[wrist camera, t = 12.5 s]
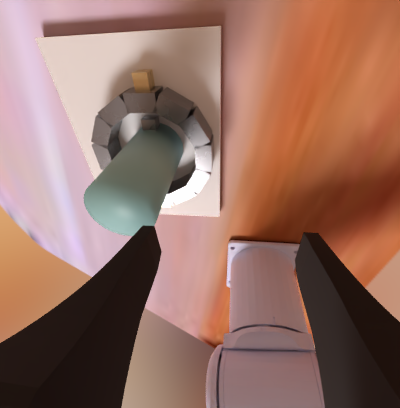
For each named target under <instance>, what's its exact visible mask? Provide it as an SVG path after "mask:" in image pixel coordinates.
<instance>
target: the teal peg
mask: <svg viewBox="0 0 400 408" xmlns="http://www.w3.org/2000/svg"><path fill="white" fill-rule="evenodd" d="M141 124H142V127H141V128H140V129H139V130H138V132H137V133H136V134H135V135H134V136H133V137H132V138H131V140H130V141H129V142H128V143H127V144H126V145H125V146H124V147H123V149H122V150H121V151H120V152H119V153H118V154H117V155H116V156H115V158H114V159H113V160H112V161H111V162H110V163H109V164H108V165H107V167H106V168H105V169H104V170H103V171H102V172H101V173H100V174H99V176H98V177H97V178H96V179H95V180H94V181H93V182H92V183H91V185H90V186H89V187H88V188H87V189H86V191H85V194H84V204H85V207H86V209H87V211H88V213H89V214H90V215H91V217H92V218H93V219H94V220H95V221H96V222H97V223H99V224H100V225H101V226H103V227H104V228H106V229H108V230H110V231H112V232H115V233H118V234H121V235H127V236H134V234H135V233H136V232H137V231H138V230H139V229H140V228H141V227H142V226H143V225H144V226H154V225H155V223H156V220H157V218H158V215H159V213H160V210H161V208H162V205H163V203H164V200H165V198H166V195H167V193H168V190H169V188H170V185H171V183H172V180H173V178H174V175H175V173H176V170H177V168H178V165H179V163H180V160H181V158H182V155H183V144H182V141H181V138H180V137H179V135H178V134H177V133H176V132H175V131H174V130H173V129H172V128H171V127H169V126H167V125H165V124H162V123H160V122H159V115H145V116H144V117H143V118H142V119H141Z"/></svg>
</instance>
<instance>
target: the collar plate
mask: <svg viewBox="0 0 400 408" xmlns="http://www.w3.org/2000/svg"><path fill="white" fill-rule="evenodd" d="M35 39H36V41H37V44H38V46H39V49H40V51H41V53H42V56H43V58H44V60H45V63H46V65H47V68H48V70H49V72H50V75H51V77H52V79H53V82H54V84H55V87H56V89H57V91H58V94H59V96H60V99H61V101H62V103H63V106H64V108H65V110H66V113H67V115H68V118H69V120H70V122H71V125H72V127H73V129H74V132H75V134H76V137H77V139H78V141H79V144H80V146H81V149H82V151H83V153H84V156H85V158H86V160H87V163H88V165H89V168H90V170H91V172H92V175H93V177H94V179H96V178H97V177H98V176H99V174H100V173H101V172H102V171H103V170H104V169H105V168H106V167H107V165H108V164H109V163H110V162H111V161H112V160H113V159H114V158H115V156H116V155H117V154H118V153H119V152H120V151H121V150H122V149H123V147H124V146H125V145H126V144H127V143H128V142H129V141H130V140H131V138H132V137H133V136H134V135H135V134H136V133H137V132H138V130H139V129H140V128H141V127H142V124H141V119H142V118H143V117H144V116H145V115H159V122H160V123H162V124H165V125H167V126H169V127H171V128H172V129H173V130H174V131H175V132H176V133H177V134H178V135H179V137H180V138H181V141H182V144H183V155H182V158H181V160H180V163H179V165H178V168H177V170H176V173H175V175H174V178H173V180H172V183H171V185H170V188H169V190H168V193H167V195H166V198H165V200H164V203H163V205H162V208H161V210H160V213H159V214H169V215H191V216H212V217H220V147H221V26H209V27H194V28H178V29H163V30H147V31H132V32H117V33H101V34H86V35H71V36H55V37H41V38H35Z"/></svg>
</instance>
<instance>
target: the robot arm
mask: <svg viewBox="0 0 400 408" xmlns="http://www.w3.org/2000/svg"><path fill="white" fill-rule="evenodd" d="M160 256H161V248H160V245H159V241H158V238H157V234H156V230H155V227H154V226H144V225H143V226H142V227H141V228H140V229H139V230H138V231H137V232H136V233H135V234H134V236H133V237H132V238H131V239H130V240H129V241H128V242H127V243H126V244H125V245H124V246H123V248H122V249H121V250H120V251H119V252H118V253H117V254H116V255H115V256H114V257H113V258H112V259H111V260H110V261H109V262H108V263H107V264H106V265H105V266H104V267H103V268H102V269H101V270H100V271H99V272H98V273H97V274H95V275H94V276H93V277H92V278H91V279H90V280H89V281H88V282H86V284H84V285H83V286H82V287H81V288H79V289H78V290H77V291H76V292H75V293H73V294H72V295H71V296H69V297H68V298H67V299H66V300H64V301H63V302H62V303H60V304H59V305H58V306H56V307H55V308H54V309H52V310H51V311H49V312H48V313H47V314H45V315H44V316H42V317H41V318H39V319H38V320H37V321H35V322H33V323H32V324H30V325H29V326H27V327H26V328H24V329H23V330H21V331H19V332H18V333H16V334H15V335H13V336H12V337H10V338H8V339H6V340H5V341H3V342H1V343H0V408H121V406H122V399H123V395H124V389H125V384H126V379H127V375H128V370H129V365H130V360H131V356H132V352H133V347H134V343H135V339H136V335H137V331H138V327H139V323H140V320H141V316H142V313H143V310H144V307H145V304H146V302H147V299H148V296H149V293H150V290H151V287H152V285H153V282H154V279H155V276H156V273H157V270H158V266H159V261H160ZM295 267H296V272H297V278H298V283H299V287H300V290H301V294H302V298H303V301H304V305H305V308H306V312H307V316H308V319H309V323H310V326H311V330H312V334H313V338H314V343H315V349H314V345H313V341H312V337H311V334H310V333H308V330H307V325H306V321H305V317H304V312H303V308H302V304H301V299H300V295H299V291H298V286H297V282H296V278H295V273H294V270H295ZM227 287H230V325H229V333H225V334H224V344H223V345H218V346H217V347H216V349H215V351H214V352H213V354H212V355H211V357H210V360H209V364H208V370H207V378H206V405H207V408H400V322H399V321H398V320H397V319H396V318H394V317H393V316H392V315H391V314H390V313H389V312H388V311H387V310H386V309H385V308H384V307H383V306H382V305H381V304H380V303H379V302H378V301H377V300H376V299H375V298H373V296H372V295H371V294H370V293H369V292H368V291H367V290H366V289H365V288H364V287H363V286H362V284H361V283H360V282H359V281H358V280H357V279H356V278H355V277H354V276H353V274H352V273H351V272H350V271H349V270H348V269H347V268H346V267H345V265H344V264H343V263H342V262H341V261H340V259H339V258H338V257H337V256H336V255H335V253H334V252H333V251H332V250H331V249H330V247H329V246H328V245H327V244H326V242H325V241H324V240H323V239H322V237H321V236H320V235H319V234H318V233H305V232H304V233H303V236H302V239H301V242H300V244H290V243H273V242H256V241H239V240H231V241H229V243H228V264H227ZM315 352H316V353H315Z"/></svg>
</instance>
